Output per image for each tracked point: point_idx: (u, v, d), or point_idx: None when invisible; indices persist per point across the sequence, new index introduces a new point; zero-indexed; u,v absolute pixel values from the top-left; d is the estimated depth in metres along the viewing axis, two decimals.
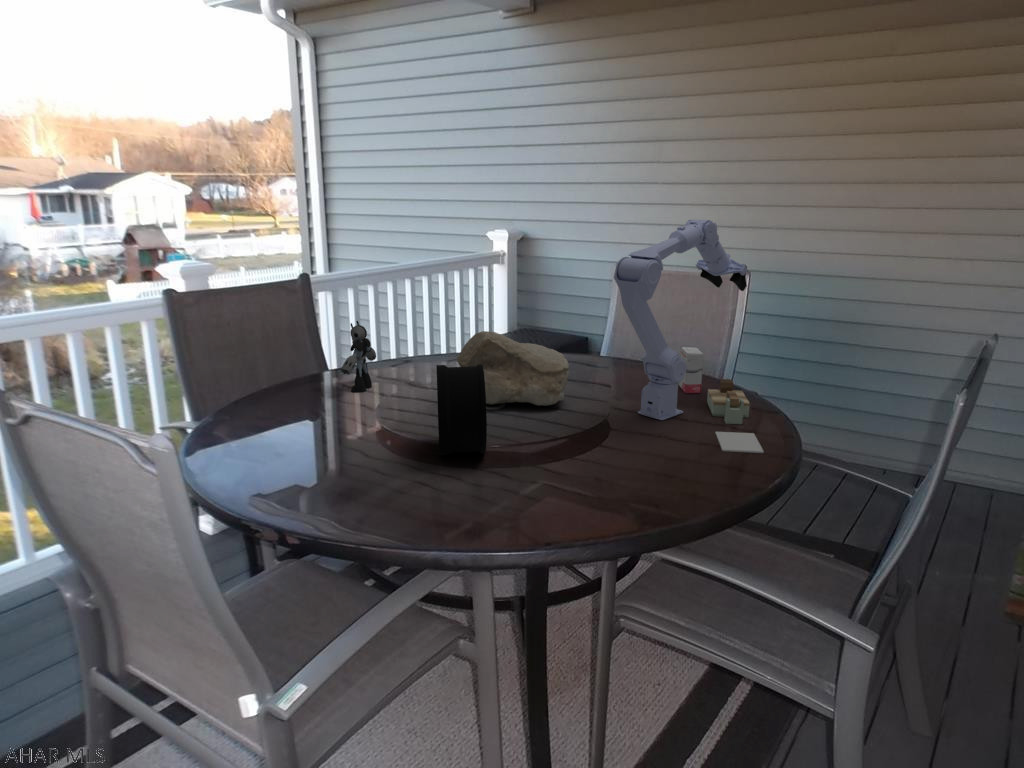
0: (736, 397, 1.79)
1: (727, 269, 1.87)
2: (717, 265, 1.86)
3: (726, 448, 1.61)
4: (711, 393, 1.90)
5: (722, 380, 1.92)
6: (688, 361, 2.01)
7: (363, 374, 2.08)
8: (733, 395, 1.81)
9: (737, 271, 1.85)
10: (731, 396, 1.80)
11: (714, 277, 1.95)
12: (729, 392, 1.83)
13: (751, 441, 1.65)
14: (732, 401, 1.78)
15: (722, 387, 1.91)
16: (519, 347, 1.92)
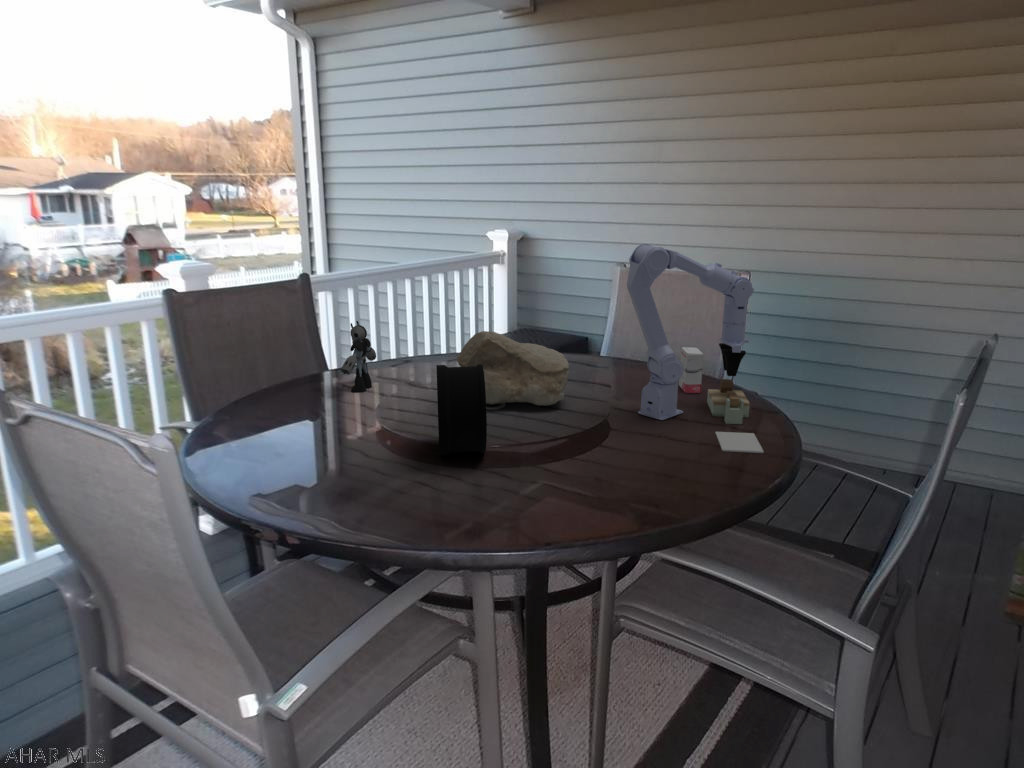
0: (736, 397, 1.79)
1: (730, 342, 1.82)
2: (725, 328, 1.82)
3: (726, 448, 1.61)
4: (711, 393, 1.90)
5: (722, 380, 1.92)
6: (688, 361, 2.01)
7: (363, 374, 2.08)
8: (733, 395, 1.81)
9: (731, 345, 1.79)
10: (731, 396, 1.80)
11: None
12: (729, 392, 1.83)
13: (751, 441, 1.65)
14: (732, 401, 1.78)
15: (722, 387, 1.91)
16: (519, 347, 1.92)
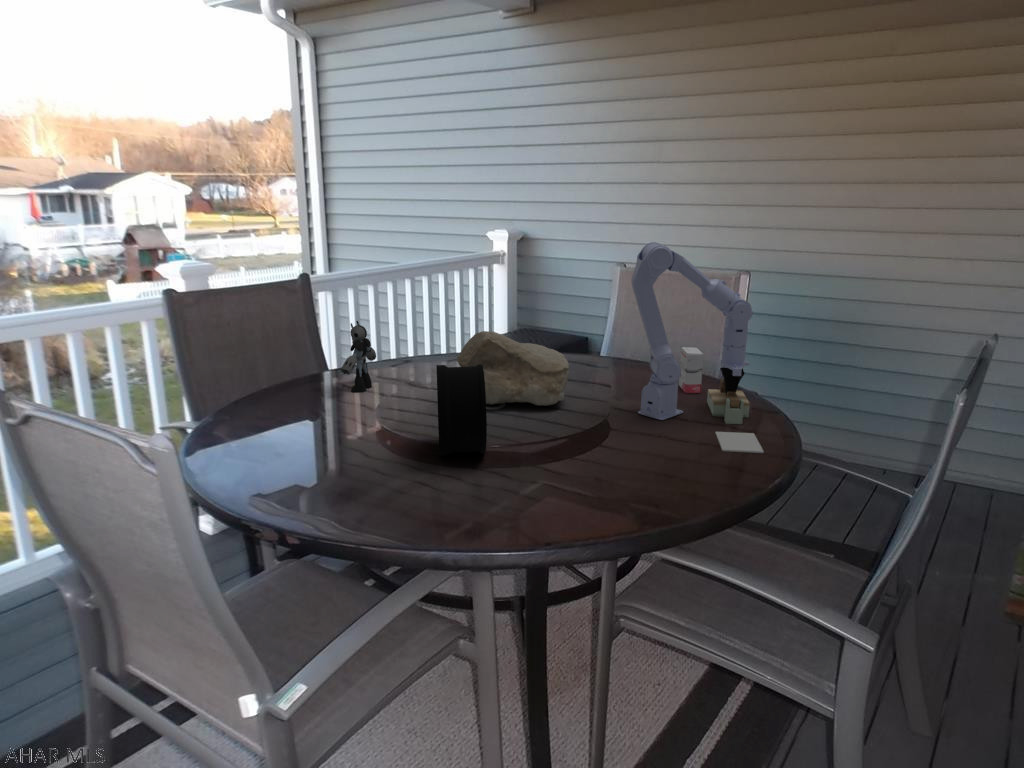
0: (736, 397, 1.79)
1: (730, 364, 1.80)
2: (725, 351, 1.81)
3: (726, 448, 1.61)
4: (711, 393, 1.90)
5: (722, 380, 1.92)
6: (688, 361, 2.01)
7: (363, 374, 2.08)
8: (734, 395, 1.81)
9: (732, 368, 1.77)
10: (731, 396, 1.79)
11: None
12: (729, 392, 1.83)
13: (751, 441, 1.65)
14: (732, 402, 1.78)
15: (722, 387, 1.91)
16: (520, 347, 1.92)
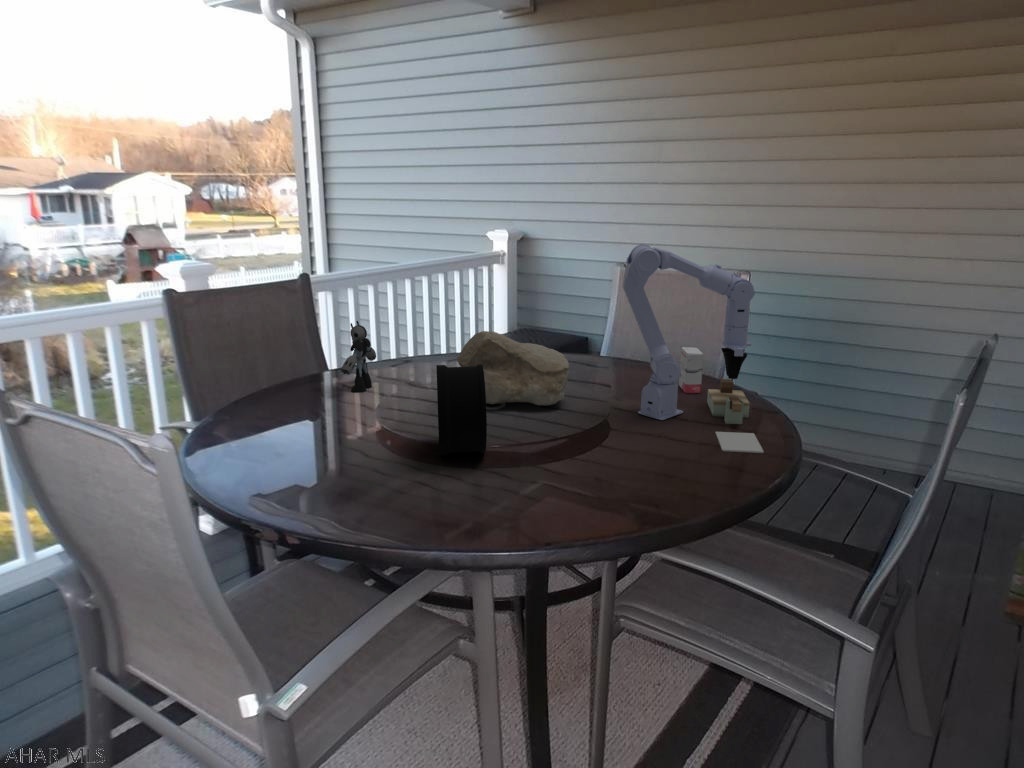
0: (739, 402, 1.75)
1: (732, 345, 1.78)
2: (727, 332, 1.79)
3: (726, 448, 1.61)
4: (711, 393, 1.90)
5: (722, 380, 1.92)
6: (688, 361, 2.01)
7: (363, 374, 2.08)
8: (736, 399, 1.77)
9: (734, 348, 1.75)
10: (734, 401, 1.76)
11: None
12: (731, 397, 1.79)
13: (751, 441, 1.65)
14: (735, 406, 1.74)
15: (722, 387, 1.91)
16: (520, 347, 1.92)
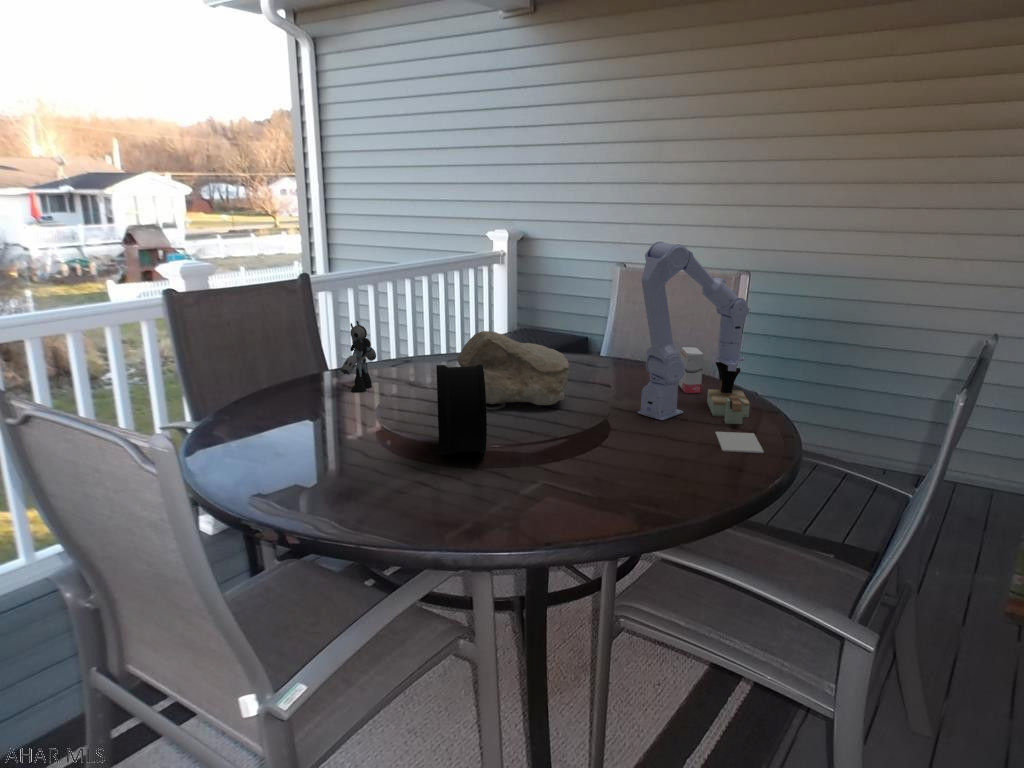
0: (739, 402, 1.75)
1: (726, 360, 1.87)
2: (721, 347, 1.87)
3: (726, 448, 1.61)
4: (711, 393, 1.90)
5: None
6: (688, 361, 2.01)
7: (363, 374, 2.08)
8: (736, 399, 1.77)
9: (727, 363, 1.84)
10: (734, 401, 1.76)
11: None
12: (731, 397, 1.79)
13: (751, 441, 1.65)
14: (735, 406, 1.74)
15: None
16: (520, 347, 1.92)
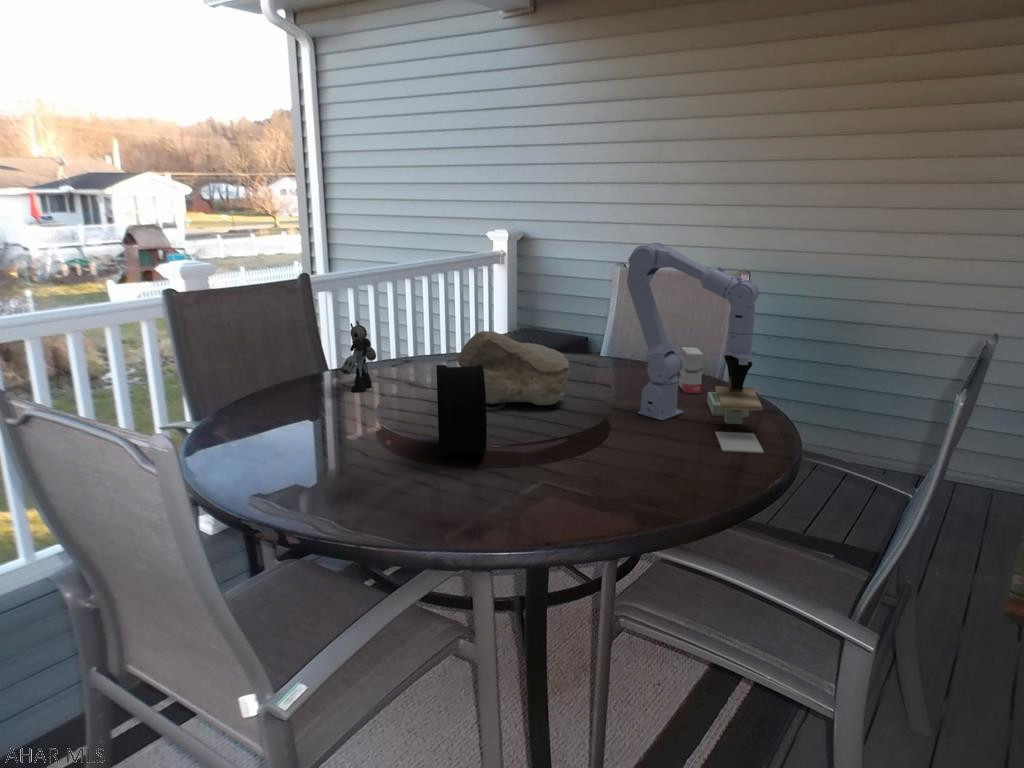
0: None
1: (736, 353, 1.69)
2: (731, 339, 1.70)
3: (726, 448, 1.61)
4: (719, 392, 1.73)
5: None
6: (688, 361, 2.01)
7: (363, 374, 2.08)
8: None
9: (738, 357, 1.66)
10: None
11: None
12: None
13: (751, 441, 1.65)
14: None
15: (731, 385, 1.73)
16: (520, 347, 1.92)
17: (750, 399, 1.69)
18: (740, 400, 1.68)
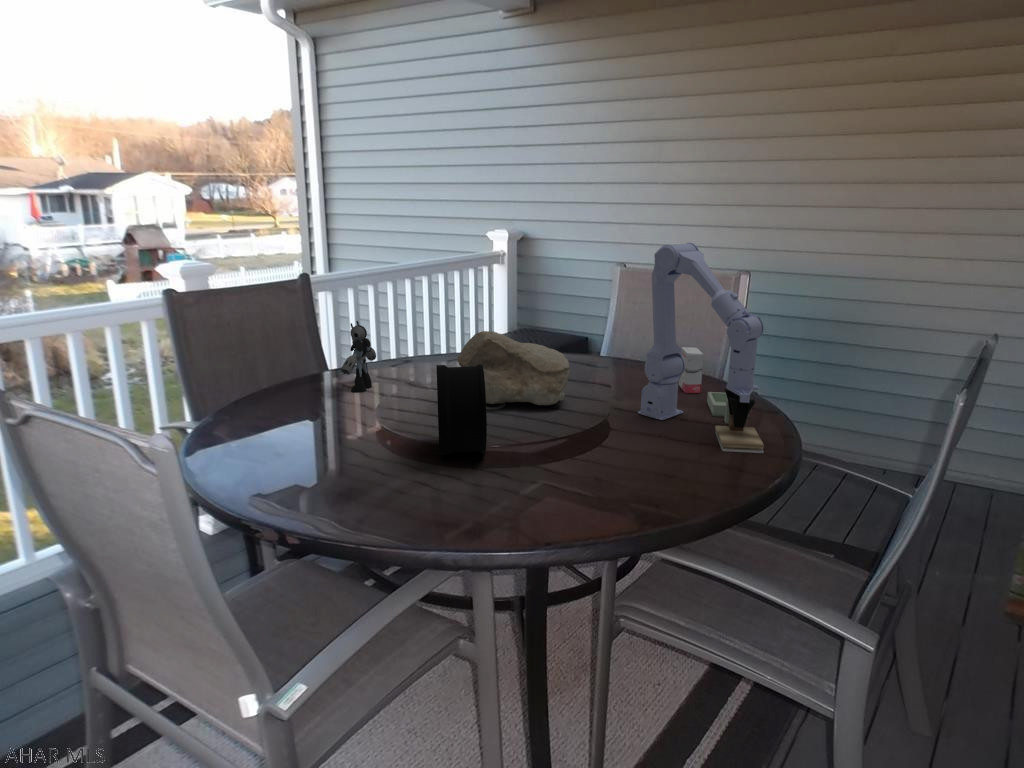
0: None
1: (737, 389, 1.64)
2: (732, 374, 1.64)
3: (726, 448, 1.61)
4: (719, 431, 1.68)
5: (732, 416, 1.69)
6: (688, 361, 2.01)
7: (363, 374, 2.08)
8: None
9: (739, 394, 1.61)
10: None
11: None
12: None
13: None
14: None
15: (732, 424, 1.68)
16: (520, 347, 1.92)
17: (751, 438, 1.63)
18: (741, 438, 1.63)
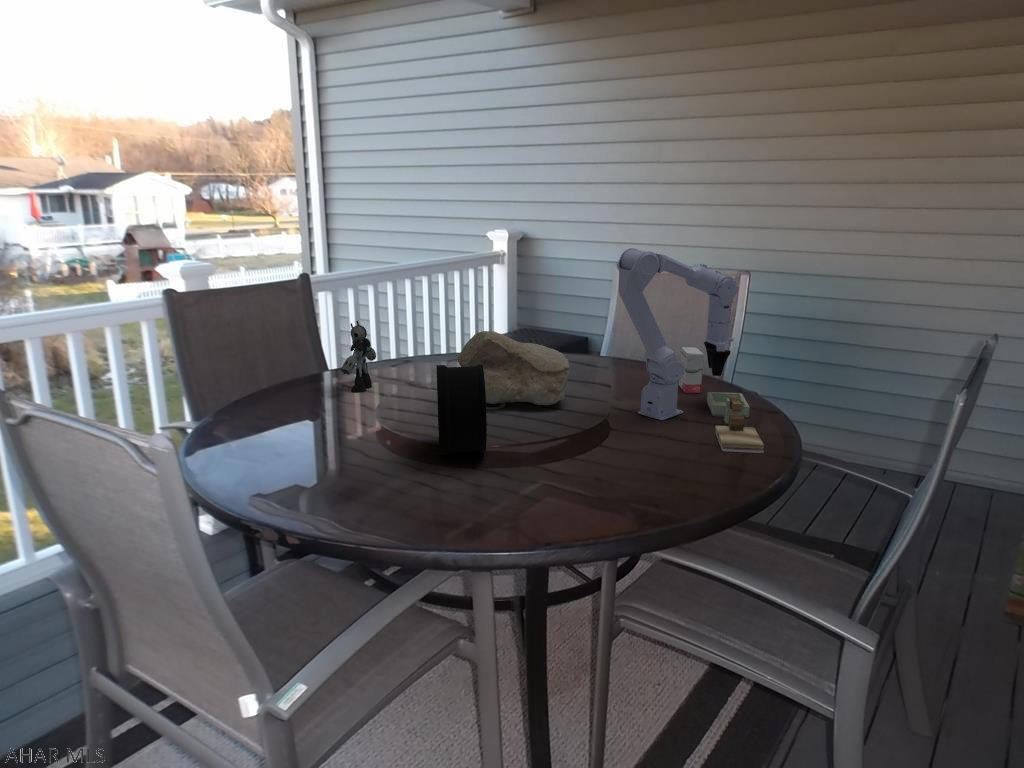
0: (739, 402, 1.75)
1: (715, 340, 1.83)
2: (710, 327, 1.84)
3: (726, 448, 1.61)
4: (719, 431, 1.68)
5: (732, 416, 1.69)
6: (688, 361, 2.01)
7: (363, 374, 2.08)
8: (736, 399, 1.77)
9: (716, 344, 1.81)
10: (734, 401, 1.76)
11: None
12: (731, 397, 1.79)
13: None
14: (735, 406, 1.74)
15: (732, 424, 1.68)
16: (520, 347, 1.92)
17: (751, 438, 1.63)
18: (741, 438, 1.63)
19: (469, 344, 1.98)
